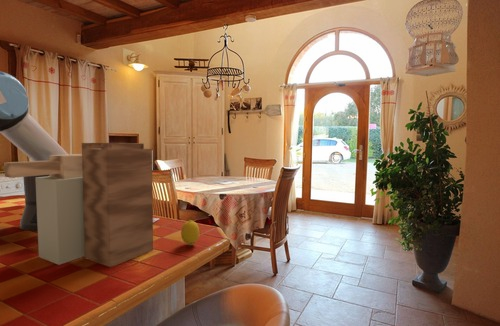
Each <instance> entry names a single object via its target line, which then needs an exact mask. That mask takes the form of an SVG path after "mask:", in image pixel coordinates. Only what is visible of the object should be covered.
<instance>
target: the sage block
mask: <svg viewBox="0 0 500 326" xmlns="http://www.w3.org/2000/svg"><path fill="white" fill-rule="evenodd" d="M36 201H37V225H38V230H37V242H38V243H37V245H38V257H39V258H40V259H43V260H45V261H48V262H51V263H53V264H56V265H58V266H61V265H63V264H66V263H69V262H71V261H74V260H77V259H80V258H83V257H84V258H85V241H84V207H83V177H78V178H68V179H62V178H54V177H50V176H47V177H36Z"/></svg>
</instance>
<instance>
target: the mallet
mask: <svg viewBox="0 0 500 326" xmlns="http://www.w3.org/2000/svg"><path fill="white" fill-rule="evenodd" d="M3 168H4V177H5V178H11V179H12V178H13V179H15V178H23V177H27V176H38V175H49V174H50V177H54V178H62V179H68V178H78V177H83V174H82V153H72V154H70V153H68V154H66V155H49V160H47V161H33V160H29V161H27V160H26V161H12V162H11V161H7V162H4V167H3Z"/></svg>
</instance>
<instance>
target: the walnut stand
mask: <svg viewBox="0 0 500 326" xmlns="http://www.w3.org/2000/svg"><path fill="white" fill-rule="evenodd" d="M144 146H145V145H144V143H135V142H134V143H133V142H81V154H82V174H83V207H84V241H85V256H84V259H86V260H88V259H89V261H91V262H94V263H97V264H100V265H104V266H106V267H108V268H112V267H115V266H117V265H120V264H122V263H125V262H128V261H129V260H133V259H135V258H137V257H139V256H142V255H145V254H148V253H149V252H152V251H154V223H153V222H154V220H153V218H154V216H153V215H154V214H153V211H154V208H153V205H154V203H153V202H154V201H153V199H154V197H153V148H147V147H146V148H144Z"/></svg>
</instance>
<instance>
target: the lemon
mask: <svg viewBox="0 0 500 326" xmlns="http://www.w3.org/2000/svg"><path fill="white" fill-rule="evenodd" d="M180 234H181V235H180V236H181V239H182V241H183V242H184V243H185V244H188V246H192V245H193V244H194V243H196V242H197V241H198V239H199V237H200V228H199V225H198V223H197V222H195V221H194V220H192V219H189V220H188V221H185V223H183V225H182V227H181V231H180Z"/></svg>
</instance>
